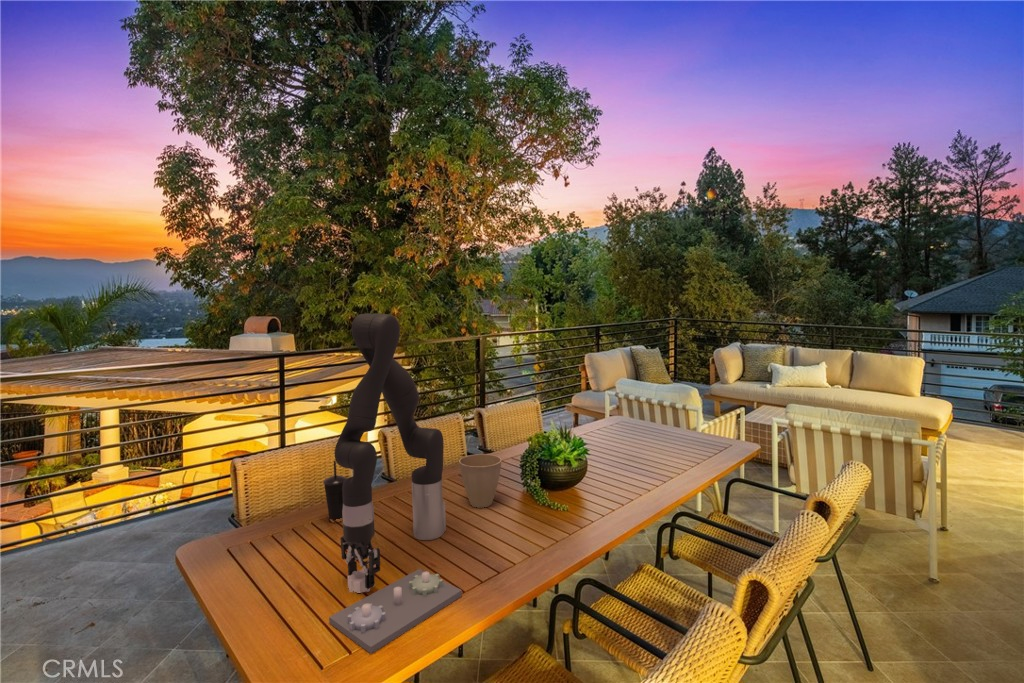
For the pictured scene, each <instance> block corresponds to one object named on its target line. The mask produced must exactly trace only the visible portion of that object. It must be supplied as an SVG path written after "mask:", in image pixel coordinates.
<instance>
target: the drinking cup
mask: <svg viewBox="0 0 1024 683" xmlns="http://www.w3.org/2000/svg"><path fill="white" fill-rule="evenodd" d="M347 478H348V477H347V476H344V475H339V474H338V475H337V462H336V460H333V475H332V476H329V477H327V478H325V479H324V480H323V482H322V484H323V485H324V490H325V496H326V505H327V512H328V519H329V518H330V519H333V520H336V519H340V518H343V516H342V511H343V492H342V487H343V482H344V481H345V480H346V479H347Z"/></svg>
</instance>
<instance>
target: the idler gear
mask: <svg viewBox="0 0 1024 683" xmlns="http://www.w3.org/2000/svg"><path fill="white" fill-rule="evenodd" d="M375 586H376V584H375V585H374V586H373V587H372V588H374V587H375ZM348 588H349V589H348ZM347 589H348V592H349V593H350V592H352V593H355V592H357V593H361V594H362V593H366V592H367V593H368V592H370V591H371V588H369V589H367V588H366V587H365V572H364V569H363V568H361V569H360V570H357V571H353V572H352V575H348V574H347ZM353 591H354V592H353ZM357 593H356V594H357Z"/></svg>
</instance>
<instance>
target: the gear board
mask: <svg viewBox="0 0 1024 683" xmlns="http://www.w3.org/2000/svg"><path fill="white" fill-rule="evenodd" d="M461 597H463V590H462V589H460V588H458V587H456V586H454V585H452V584H450V583H449V582H446V581H444V580H443V578H440V574H439V573H435V574H433V573H430V572H429V571H427V570H426V571H425V570H422V569H421V568H418V569H416V570H415V571H412V572H410V573H409V574H407V575H404V576H403V577H402V578H399V579H397V580H396V581H393V582H392V583H390V584H388V585H386V586H384V587H382V588H380V589H379V590H376V591H375V592H372V593H371V594H369V595H367V596H366V597H364V598H362V599H360V600H358V601H356V602H354V603H352V604H351V605H349V606H347V607H345V608H342V609H341V610H339V611H338V612H336V613H334V614H332V615H330V616H328V621H329V622H328V623H329V625H331V626H333V628H335V629H336V628H337V629H336V630H338V631H339V632H341V633H342V634H343V635H344V636H346V637H347V638H348V639H350V640H351V641H353V642H354V643H356V644H357V645H358V646H359V647H361V648H362V649H364V650H365V651H366V652H368V653H369V654H371V655H372V654H374V653H375V652H376V651H378V650H380V649H382V648H383V647H384V646H386V645H387V644H389V643H391V642H392V641H394V640H395V639H397V638H398V637H400V636H402V635H403V634H406V632H408V631H409V630H411V629H412V628H414V627H415V626H417V625H419V624H421V623H422V622H424V621H425V620H427V619H428V618H430V617H432V616H433V615H435V614H436V613H438V612H440V611H441V610H442V609H444V608H446V607H448V606H449V605H450V604H452V603H454V602H455V601H457V600H458V599H460V598H461ZM373 652H374V653H373Z"/></svg>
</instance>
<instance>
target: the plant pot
mask: <svg viewBox="0 0 1024 683" xmlns="http://www.w3.org/2000/svg"><path fill="white" fill-rule="evenodd" d="M502 461H503V460H502V458H501V457H500V456H498V455H494V454H487V453H481V454H480V453H478V454H470V455H466V456H463V457H461V458H460V459H459V461H458V463H459V469H460V474H461V479H462V483H463V487H464V490H465V493H466V496H467V498H468V501H469V504H470V506H471V505H472V506H471V507H473V508H476V507H477V508H478V509H485V508H488V507H490V506H491V505H492V504H493V501H494V498H495V495H496V492H497V488H498V485H499V484H498V483H499V479H500V473H501V468H502ZM484 507H485V508H484Z"/></svg>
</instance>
